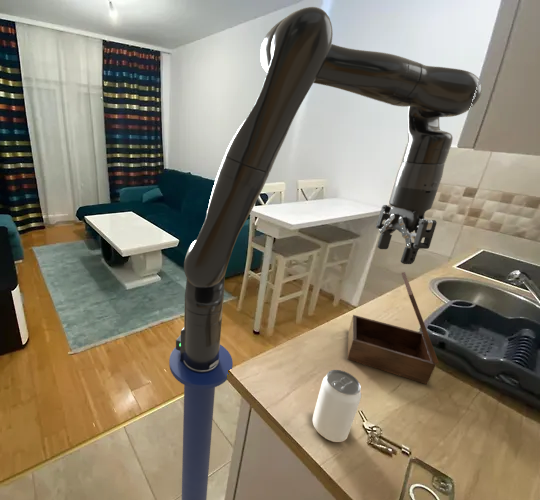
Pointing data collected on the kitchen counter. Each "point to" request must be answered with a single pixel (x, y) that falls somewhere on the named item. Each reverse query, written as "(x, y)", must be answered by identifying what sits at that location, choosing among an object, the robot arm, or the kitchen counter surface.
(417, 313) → the tray cover
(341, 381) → the can
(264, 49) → the robot arm
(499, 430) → the kitchen counter surface
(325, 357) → the kitchen counter surface
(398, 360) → the tray box
